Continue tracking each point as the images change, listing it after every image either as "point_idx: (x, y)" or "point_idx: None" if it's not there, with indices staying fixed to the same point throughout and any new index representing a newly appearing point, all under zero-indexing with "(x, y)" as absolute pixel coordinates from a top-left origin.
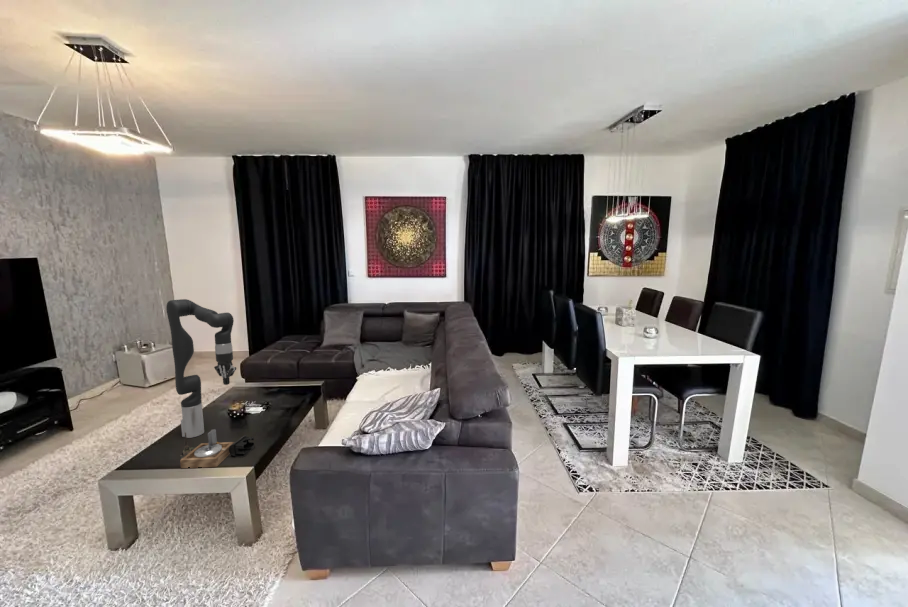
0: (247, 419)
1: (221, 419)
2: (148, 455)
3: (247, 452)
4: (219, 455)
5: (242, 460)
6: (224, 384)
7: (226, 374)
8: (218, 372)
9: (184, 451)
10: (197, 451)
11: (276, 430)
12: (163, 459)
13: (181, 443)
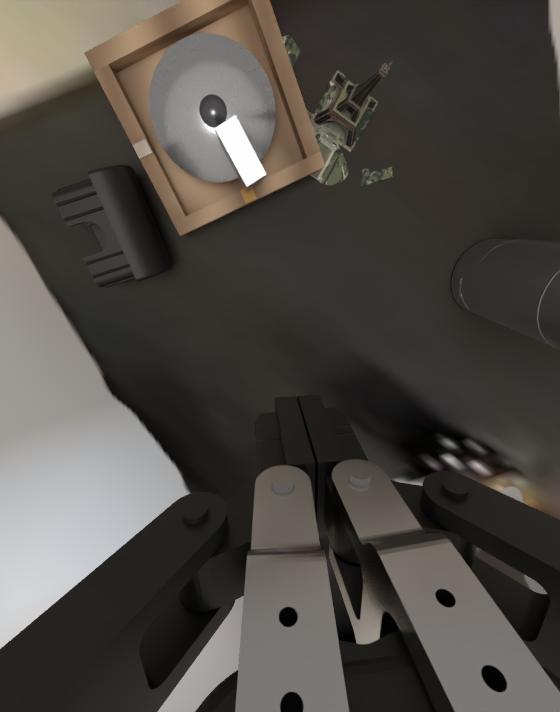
0: (377, 442)
1: (480, 407)
2: (525, 42)
3: (93, 227)
4: (105, 91)
5: (51, 167)
6: (304, 396)
7: (253, 548)
8: (545, 541)
9: (348, 84)
10: (248, 72)
11: (178, 418)
12: (420, 36)
13: (469, 192)
